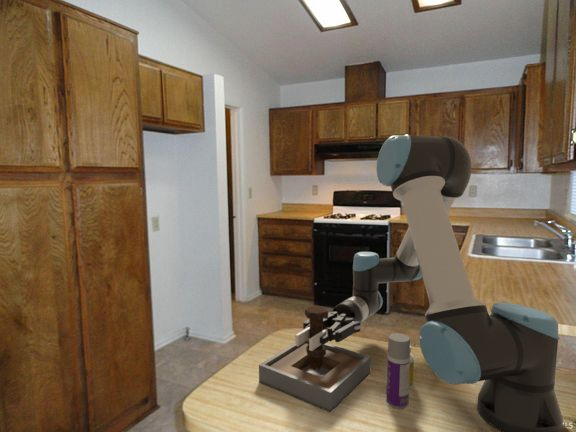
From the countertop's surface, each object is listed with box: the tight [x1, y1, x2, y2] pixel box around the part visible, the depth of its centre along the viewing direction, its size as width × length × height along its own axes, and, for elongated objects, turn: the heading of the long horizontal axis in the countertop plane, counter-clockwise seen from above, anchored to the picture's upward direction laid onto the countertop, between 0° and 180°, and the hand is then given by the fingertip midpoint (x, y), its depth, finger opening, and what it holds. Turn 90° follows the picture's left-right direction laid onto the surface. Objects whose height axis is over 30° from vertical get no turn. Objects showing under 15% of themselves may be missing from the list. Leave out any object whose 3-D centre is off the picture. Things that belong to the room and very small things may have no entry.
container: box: [385, 332, 411, 410], centre depth 83 cm, size 5×5×15 cm
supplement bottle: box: [409, 344, 415, 389], centre depth 91 cm, size 5×5×10 cm
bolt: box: [304, 305, 329, 370], centre depth 93 cm, size 6×5×15 cm
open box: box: [258, 340, 372, 413], centre depth 94 cm, size 20×20×4 cm
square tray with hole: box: [270, 343, 361, 389], centre depth 94 cm, size 18×18×3 cm
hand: (303, 342), depth 89 cm, fingers closed on bolt, 3 cm apart
